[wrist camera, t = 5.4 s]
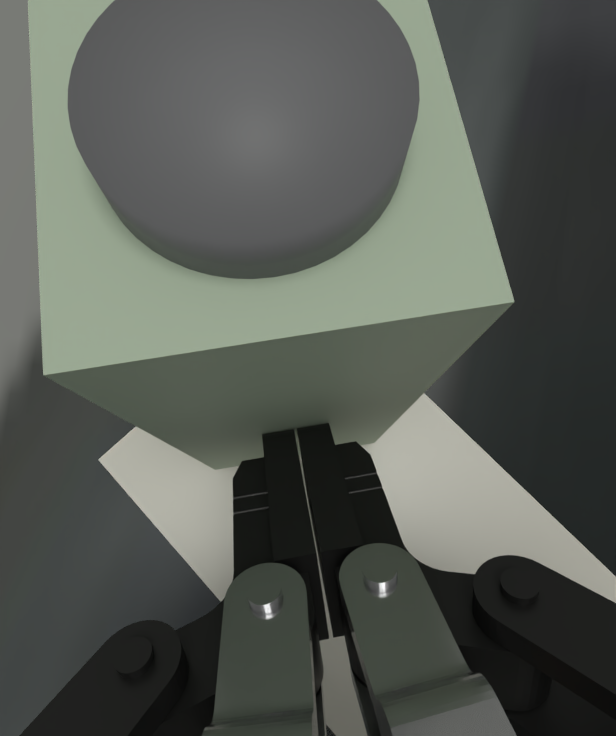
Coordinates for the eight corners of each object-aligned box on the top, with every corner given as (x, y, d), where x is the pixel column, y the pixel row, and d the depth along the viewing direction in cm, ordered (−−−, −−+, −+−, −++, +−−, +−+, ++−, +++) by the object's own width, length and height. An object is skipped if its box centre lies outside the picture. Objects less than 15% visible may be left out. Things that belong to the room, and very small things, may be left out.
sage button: (344, 296, 18) (426, -116, 6) (374, 443, 17) (548, 269, 5) (196, 318, 18) (-7, -68, 6) (214, 469, 17) (1, 353, 5)
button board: (1050, 999, 14) (1071, 1013, 14) (871, 1352, 12) (890, 1379, 12) (303, 282, 19) (303, 277, 19) (102, 461, 17) (98, 459, 17)
